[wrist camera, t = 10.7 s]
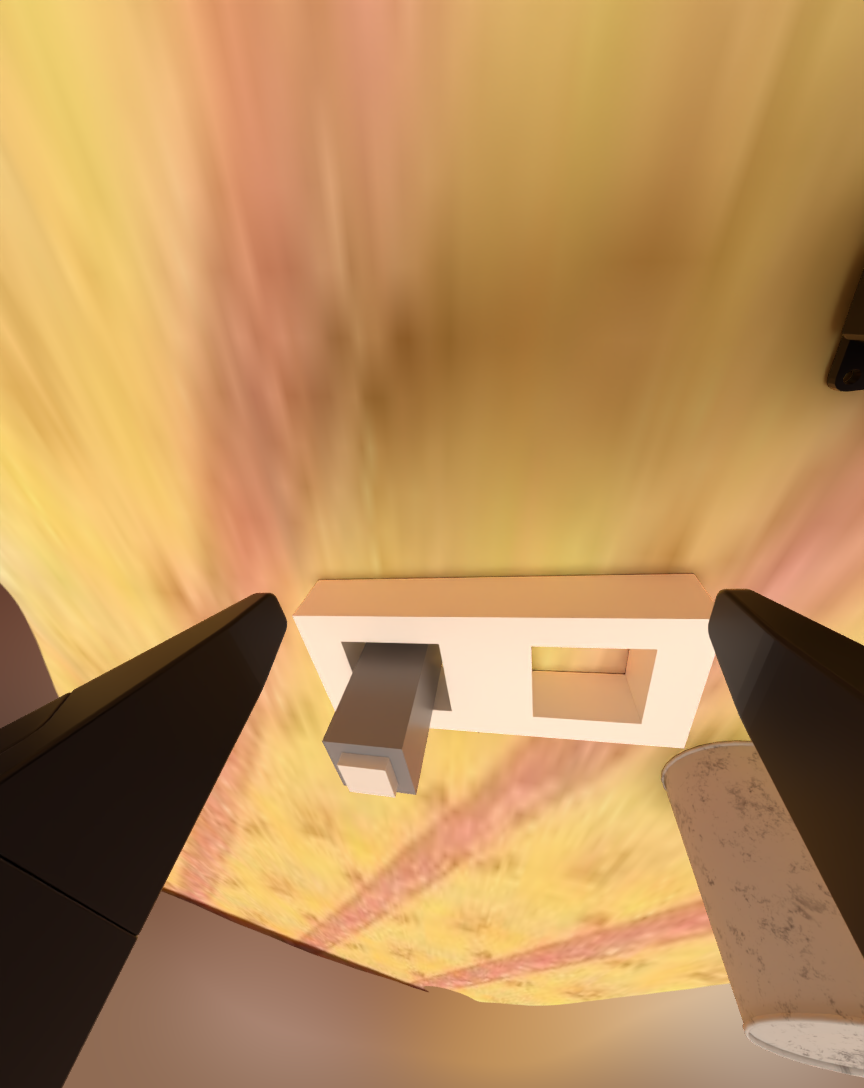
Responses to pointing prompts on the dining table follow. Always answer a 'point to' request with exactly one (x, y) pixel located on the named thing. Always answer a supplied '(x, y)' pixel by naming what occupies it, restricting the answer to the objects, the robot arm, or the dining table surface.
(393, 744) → the plug
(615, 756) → the dining table surface
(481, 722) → the socket strip
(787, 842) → the stone cylinder
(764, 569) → the dining table surface
